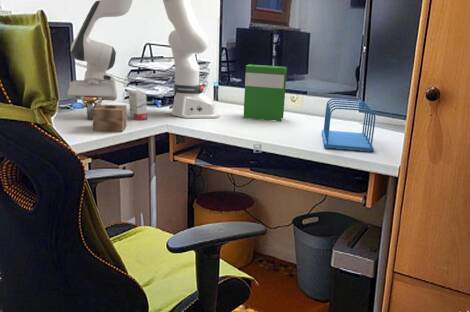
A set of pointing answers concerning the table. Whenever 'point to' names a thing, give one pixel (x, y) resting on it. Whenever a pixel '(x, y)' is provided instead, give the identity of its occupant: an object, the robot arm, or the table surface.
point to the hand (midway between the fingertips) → (90, 106)
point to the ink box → (137, 105)
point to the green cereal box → (264, 92)
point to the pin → (90, 106)
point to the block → (109, 118)
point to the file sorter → (348, 138)
